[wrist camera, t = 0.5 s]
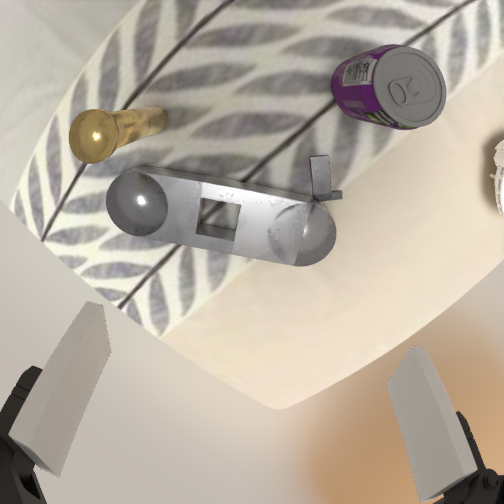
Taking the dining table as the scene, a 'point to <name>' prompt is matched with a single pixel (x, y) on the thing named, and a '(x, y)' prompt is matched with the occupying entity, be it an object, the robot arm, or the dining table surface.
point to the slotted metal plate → (213, 237)
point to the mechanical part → (499, 177)
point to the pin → (112, 130)
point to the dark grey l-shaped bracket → (322, 179)
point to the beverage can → (391, 87)
